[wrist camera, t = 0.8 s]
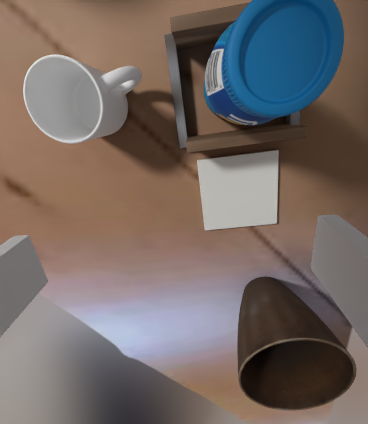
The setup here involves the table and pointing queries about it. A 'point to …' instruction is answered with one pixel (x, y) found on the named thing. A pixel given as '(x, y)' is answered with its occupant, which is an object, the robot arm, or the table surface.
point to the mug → (77, 98)
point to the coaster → (239, 190)
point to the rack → (181, 38)
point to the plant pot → (288, 351)
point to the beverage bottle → (274, 60)
